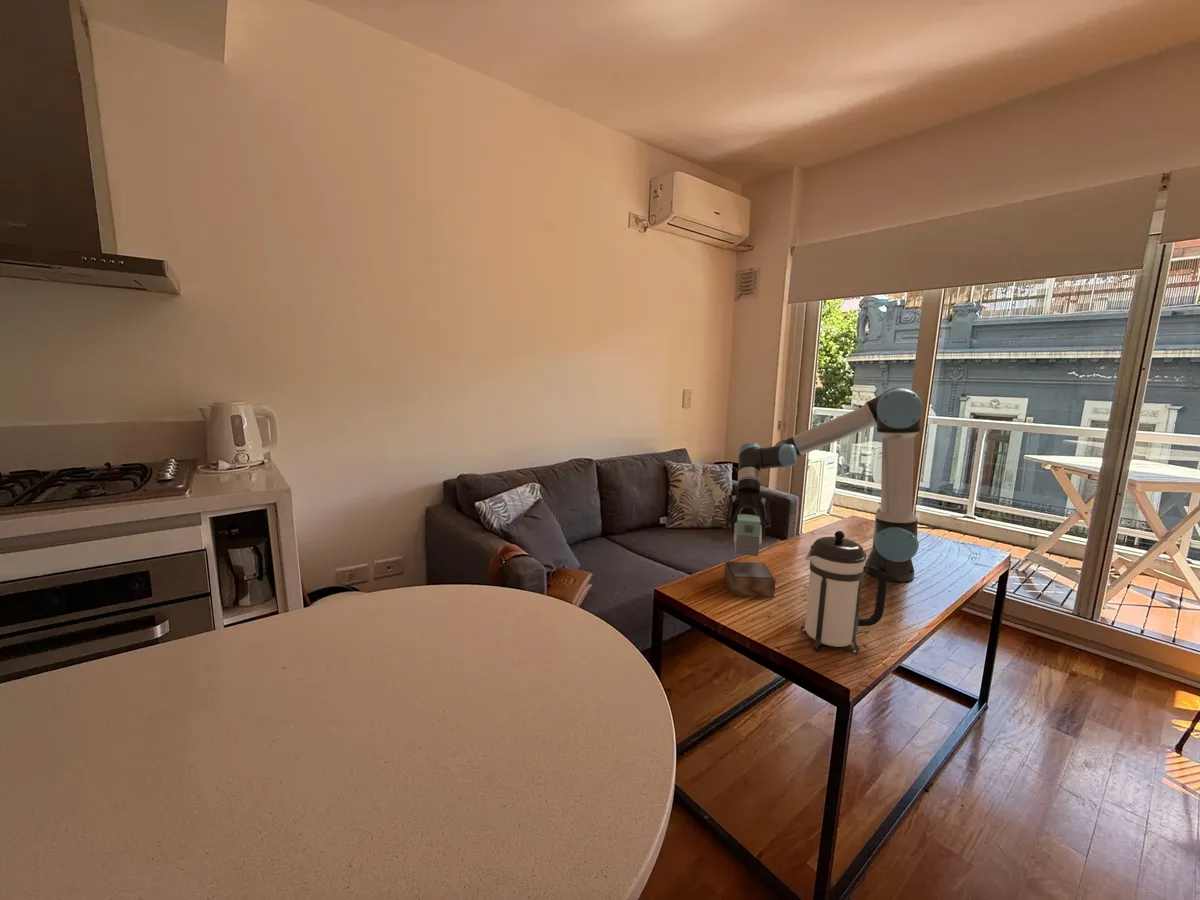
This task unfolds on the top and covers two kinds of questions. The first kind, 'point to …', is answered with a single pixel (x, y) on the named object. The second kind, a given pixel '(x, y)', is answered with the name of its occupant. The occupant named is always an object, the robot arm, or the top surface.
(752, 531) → the lid
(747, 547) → the base
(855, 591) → the coffee press
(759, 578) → the walnut stand
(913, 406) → the robot arm
